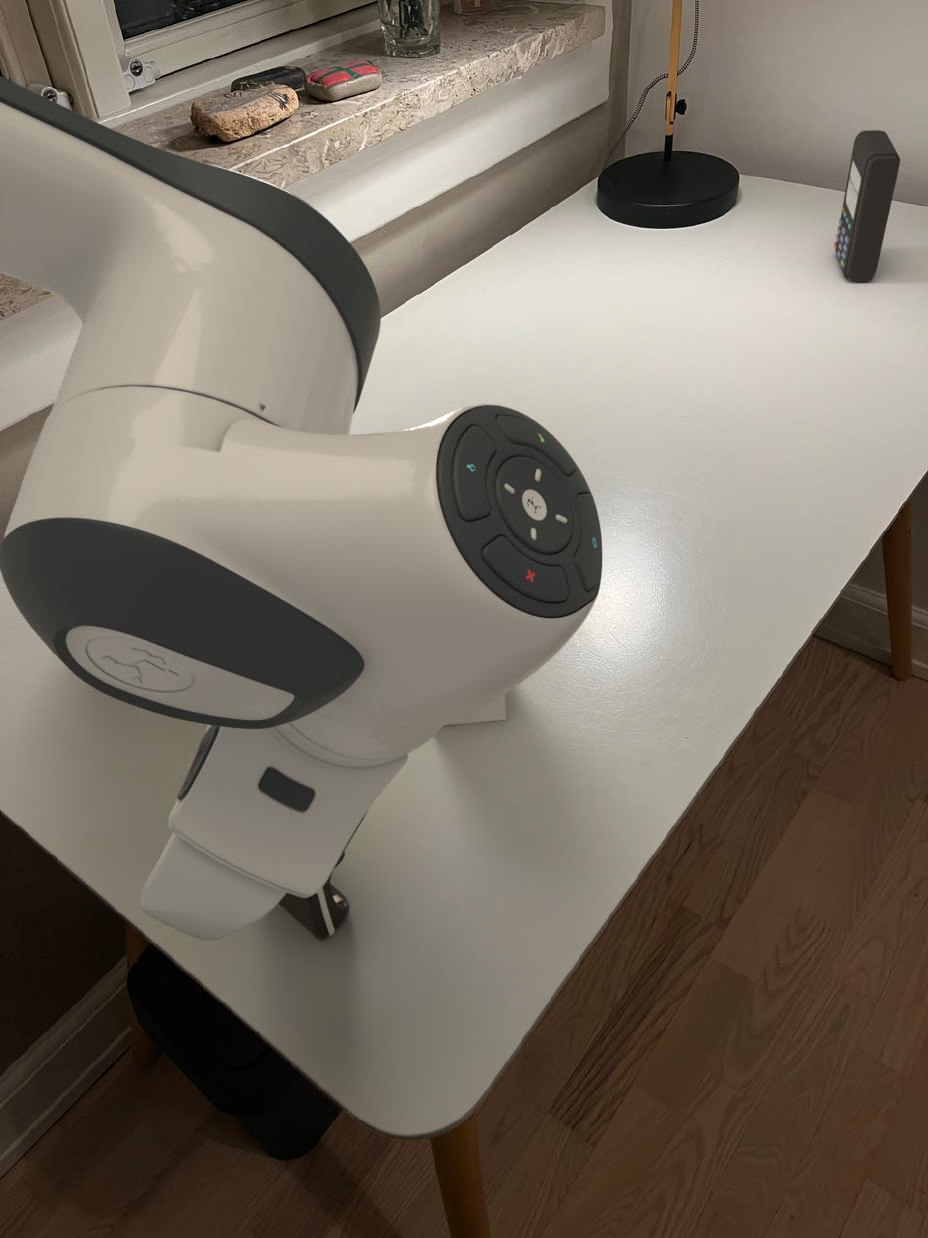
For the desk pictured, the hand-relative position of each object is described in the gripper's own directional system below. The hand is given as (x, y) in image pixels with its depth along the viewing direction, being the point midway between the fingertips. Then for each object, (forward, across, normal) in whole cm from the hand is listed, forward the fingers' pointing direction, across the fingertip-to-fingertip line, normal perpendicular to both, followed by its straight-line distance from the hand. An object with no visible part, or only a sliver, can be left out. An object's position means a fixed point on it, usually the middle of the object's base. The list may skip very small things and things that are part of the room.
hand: (233, 762), depth 54 cm
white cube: (+15, -20, +16) cm, 29 cm away
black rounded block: (+15, 0, +11) cm, 18 cm away
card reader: (+10, -99, +43) cm, 108 cm away
